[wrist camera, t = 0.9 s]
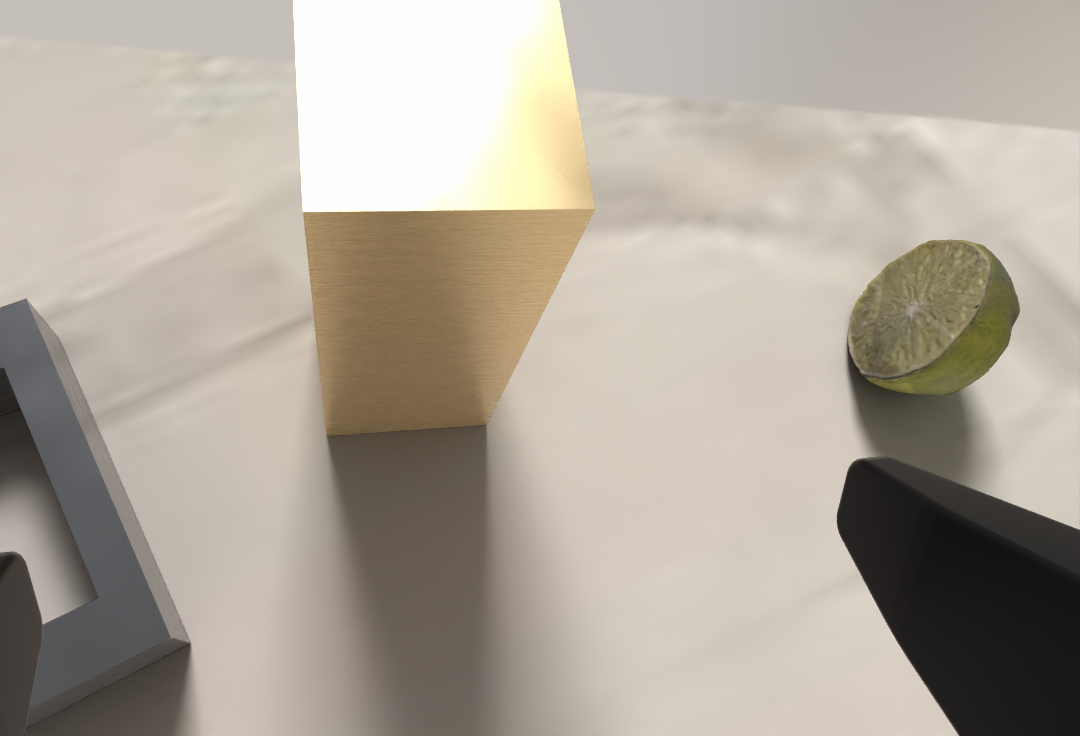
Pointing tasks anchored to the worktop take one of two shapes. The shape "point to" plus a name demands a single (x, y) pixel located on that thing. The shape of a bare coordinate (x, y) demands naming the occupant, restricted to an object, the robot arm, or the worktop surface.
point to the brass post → (433, 199)
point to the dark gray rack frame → (84, 527)
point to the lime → (934, 319)
